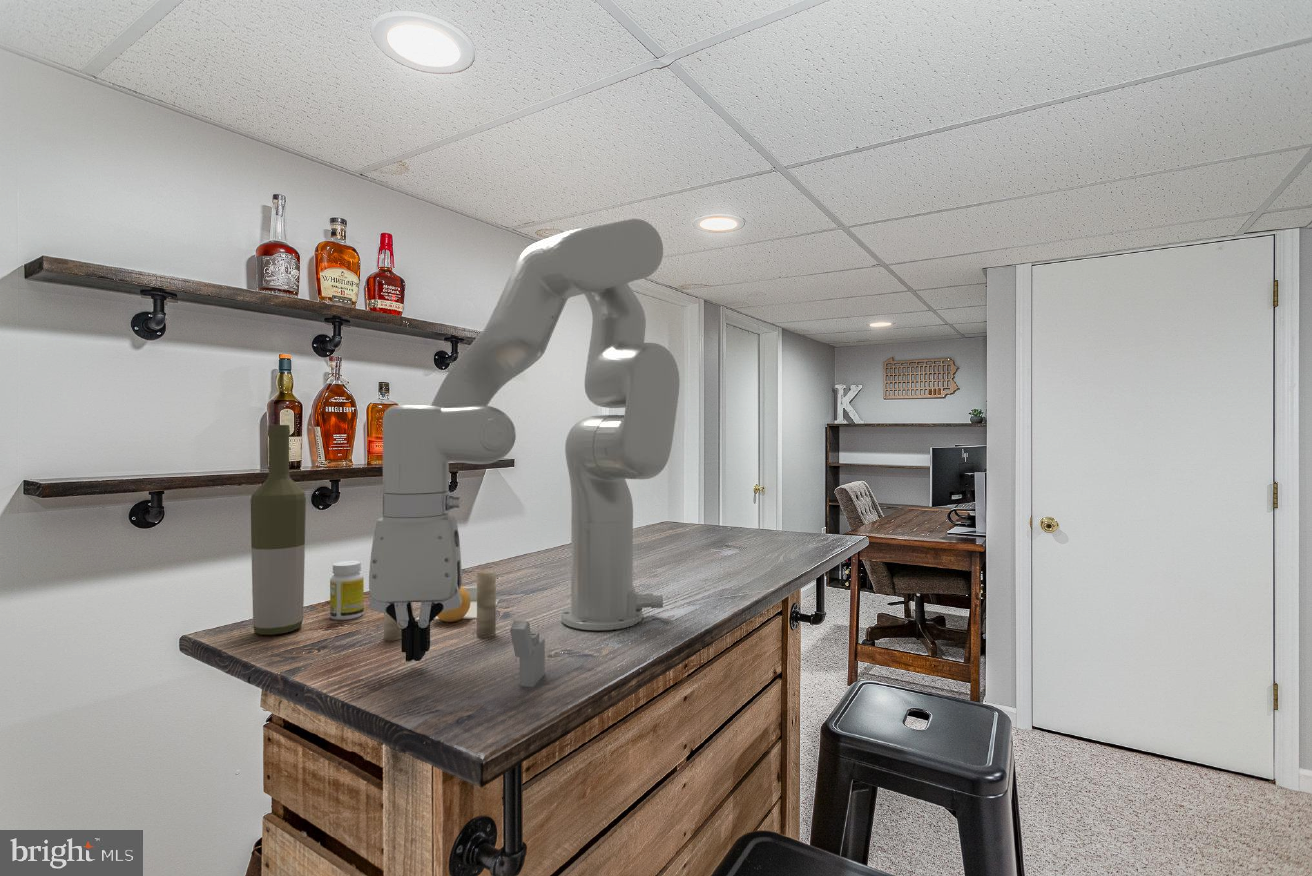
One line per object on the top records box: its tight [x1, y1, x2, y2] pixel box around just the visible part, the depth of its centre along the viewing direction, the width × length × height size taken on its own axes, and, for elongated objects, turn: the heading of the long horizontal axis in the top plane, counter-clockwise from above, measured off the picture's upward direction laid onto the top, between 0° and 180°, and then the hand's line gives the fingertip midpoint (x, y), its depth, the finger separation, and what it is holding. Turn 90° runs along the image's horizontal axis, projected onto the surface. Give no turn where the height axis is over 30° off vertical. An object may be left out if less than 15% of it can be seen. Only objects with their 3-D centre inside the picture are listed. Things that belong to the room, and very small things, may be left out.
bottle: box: [250, 424, 307, 636], centre depth 93 cm, size 7×7×30 cm
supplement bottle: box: [329, 560, 365, 621], centre depth 101 cm, size 5×5×8 cm
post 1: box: [383, 613, 401, 642], centre depth 90 cm, size 3×3×9 cm
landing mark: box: [415, 598, 500, 621], centre depth 104 cm, size 11×11×1 cm
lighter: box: [509, 619, 546, 688], centre depth 73 cm, size 7×2×8 cm, turn 172°
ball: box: [437, 585, 471, 623], centre depth 98 cm, size 6×6×6 cm
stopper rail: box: [462, 585, 477, 601], centre depth 109 cm, size 10×1×2 cm, turn 96°
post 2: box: [476, 569, 497, 639], centre depth 91 cm, size 3×3×9 cm
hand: (415, 657), depth 78 cm, fingers closed
